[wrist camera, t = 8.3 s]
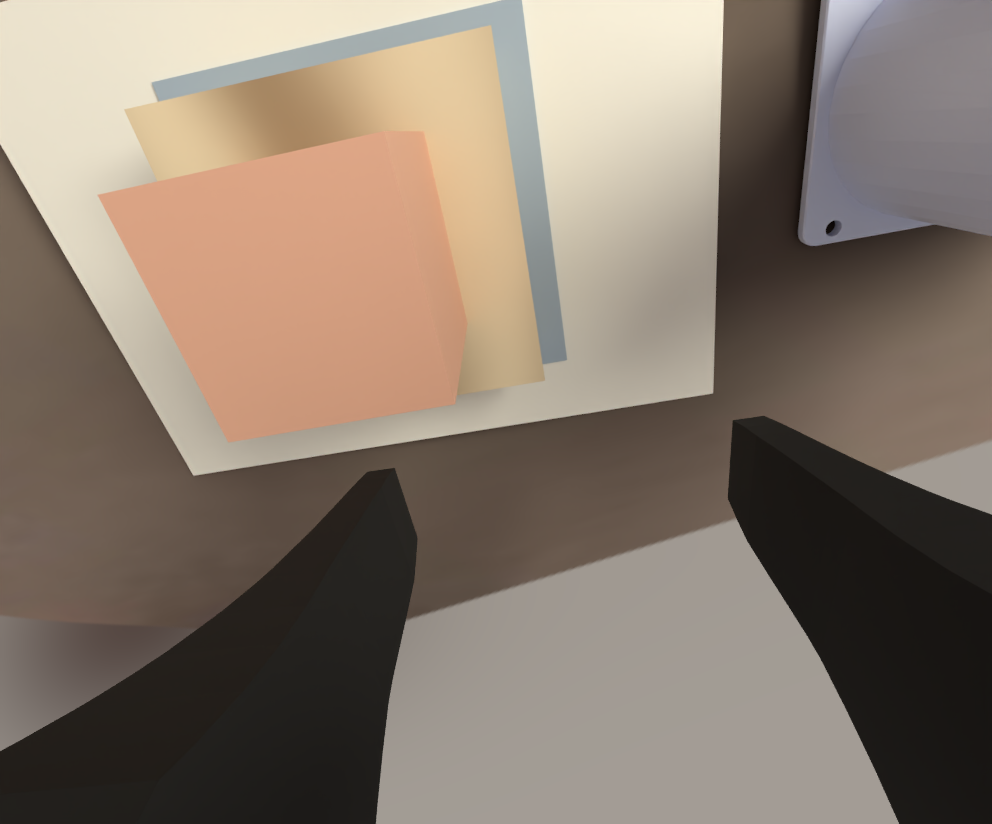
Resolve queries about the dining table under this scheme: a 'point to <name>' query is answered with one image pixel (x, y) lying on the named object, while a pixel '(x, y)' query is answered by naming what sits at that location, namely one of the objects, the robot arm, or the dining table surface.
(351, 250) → the terracotta cube
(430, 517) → the dining table surface
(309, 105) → the oak base brick
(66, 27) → the board
